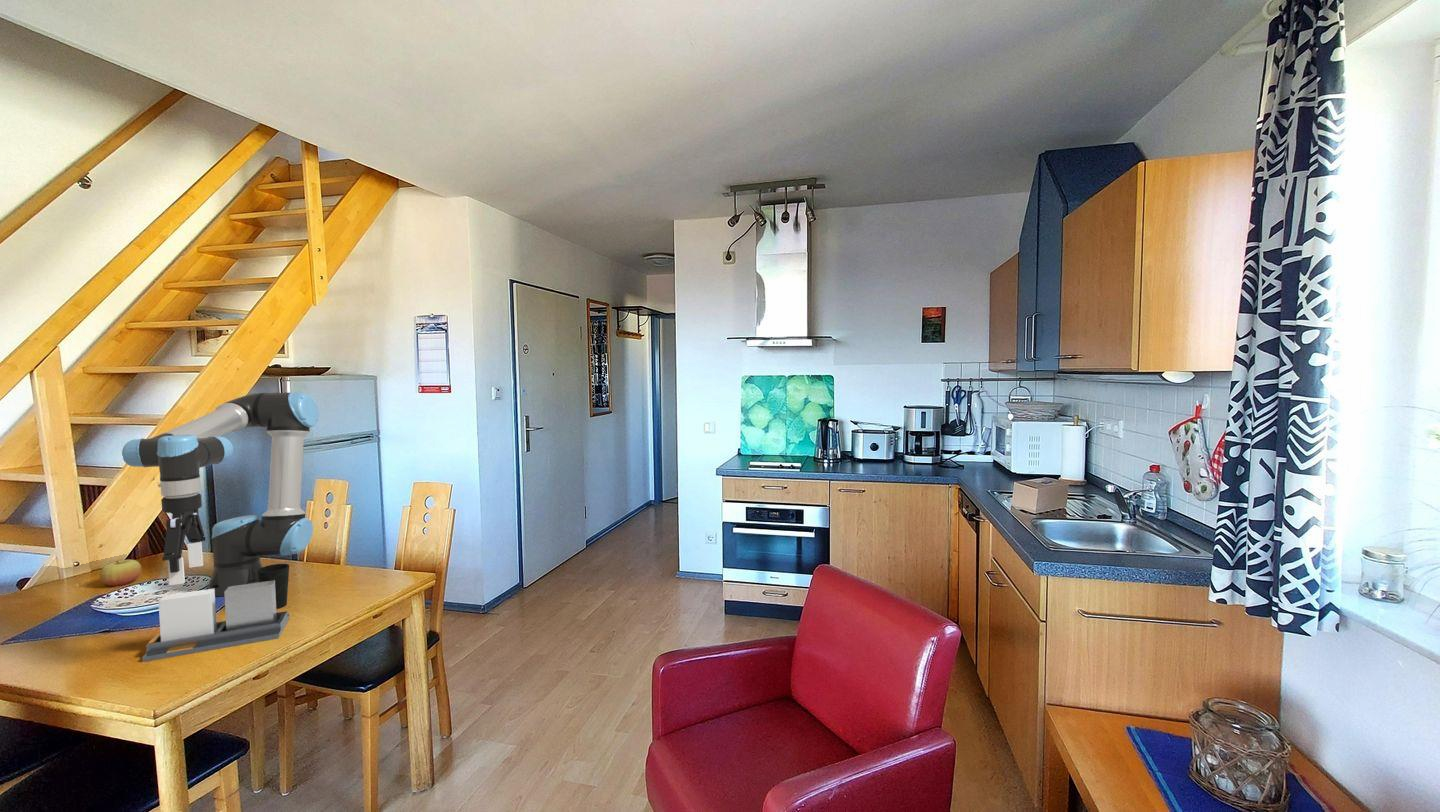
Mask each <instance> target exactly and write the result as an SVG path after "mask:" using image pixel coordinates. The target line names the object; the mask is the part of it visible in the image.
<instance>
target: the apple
mask: <svg viewBox="0 0 1440 812" xmlns="http://www.w3.org/2000/svg"><path fill="white" fill-rule="evenodd" d="M141 573H142V565H141V563H140V562H139V561H137V560H135V559H122V560H116V561H113V562H110V563H108V564H105V565H104V566H103V567H102V568H101V569H100V571H99V580H100V581H101V582H102V583H103V584H105V585H106V586H108V587H117V586H118V587H119V586H123V585H124V586H125V585H128V584H130V583H133V582H134V581H135V580H137V579H138V578H139V577H140V575H142V574H141Z"/></svg>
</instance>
